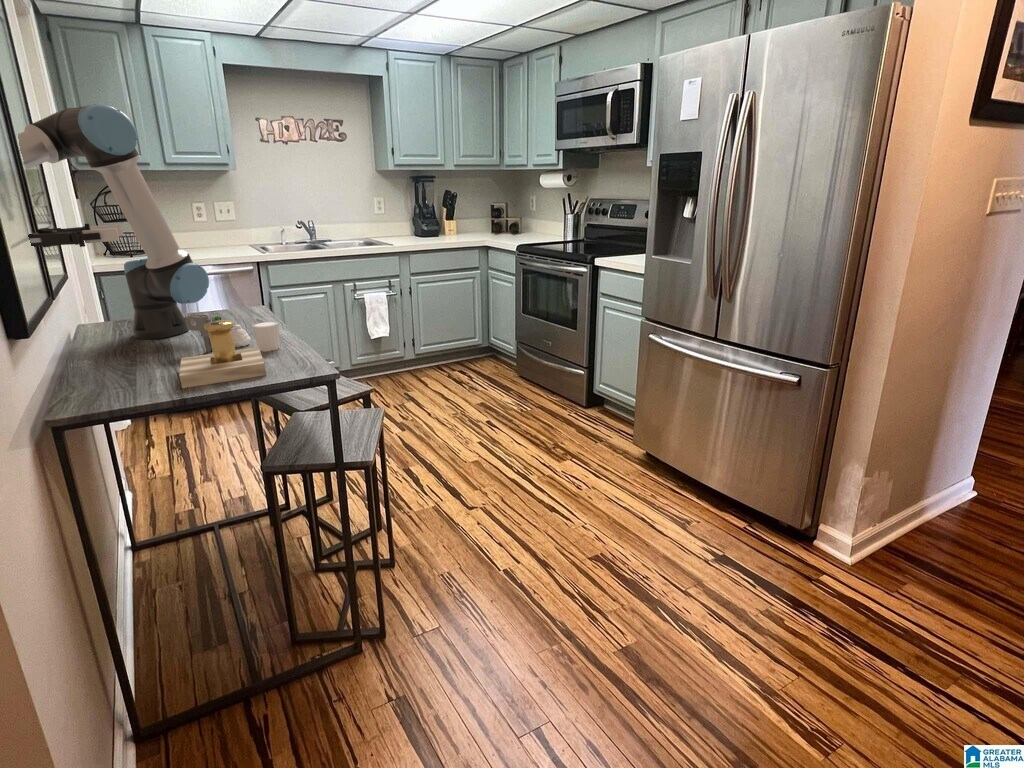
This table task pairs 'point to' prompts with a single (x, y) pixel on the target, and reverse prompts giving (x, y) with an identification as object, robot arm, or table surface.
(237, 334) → the garlic bulb
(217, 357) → the brass sleeve
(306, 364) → the table surface
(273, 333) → the white cup
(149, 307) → the robot arm
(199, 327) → the mechanical component
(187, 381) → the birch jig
